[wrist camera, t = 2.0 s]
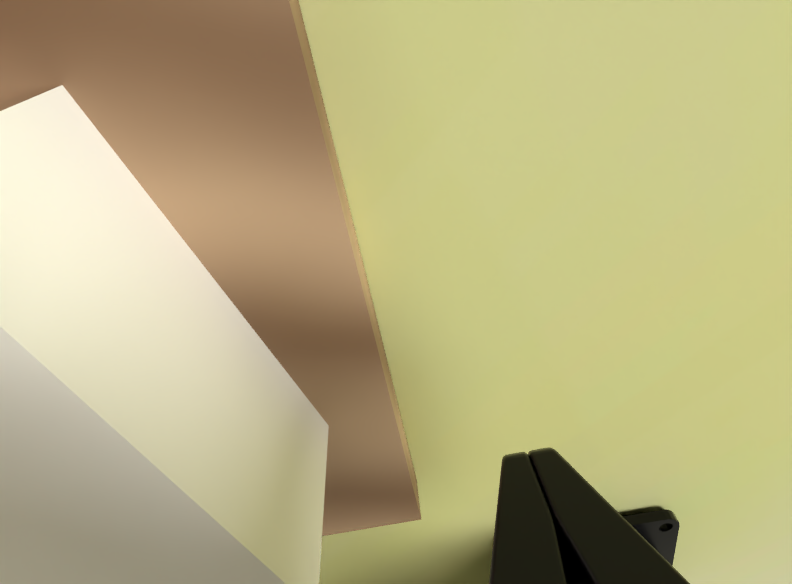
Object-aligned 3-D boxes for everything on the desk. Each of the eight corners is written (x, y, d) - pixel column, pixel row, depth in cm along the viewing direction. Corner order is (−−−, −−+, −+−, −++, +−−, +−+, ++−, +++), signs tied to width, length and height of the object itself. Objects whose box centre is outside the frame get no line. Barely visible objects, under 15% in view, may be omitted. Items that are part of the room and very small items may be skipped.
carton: (329, 426, 15) (318, 613, 11) (73, 528, 16) (-26, 725, 12) (60, 82, 10) (-167, 175, 6) (-273, 277, 11) (-647, 465, 7)
